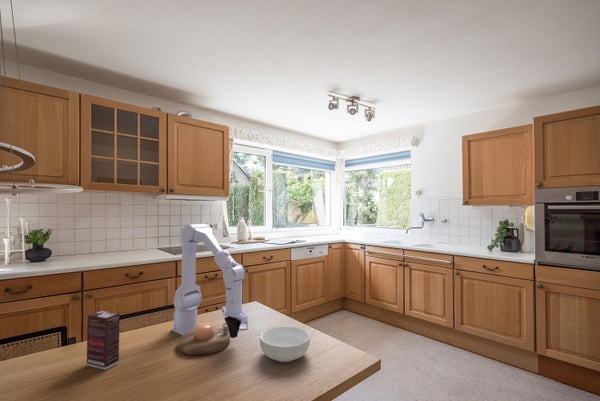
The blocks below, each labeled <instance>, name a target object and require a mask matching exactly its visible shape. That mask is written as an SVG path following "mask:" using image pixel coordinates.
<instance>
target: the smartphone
mask: <svg viewBox="0 0 600 401" xmlns="http://www.w3.org/2000/svg"><path fill="white" fill-rule="evenodd" d="M248 323H249V320H248V317H247V322H244V323H241V325H240V328H239V331H246V330H247V331H248V330H249V324H248Z"/></svg>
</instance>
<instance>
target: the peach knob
mask: <svg viewBox="0 0 600 401" xmlns="http://www.w3.org/2000/svg"><path fill="white" fill-rule="evenodd" d="M214 327H215V324H214V323H212V322H210V321H208V322H200V323H197V325H195V326H194V340H196V341H207V340H210V339H212V338H213V337H214Z"/></svg>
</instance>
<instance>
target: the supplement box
mask: <svg viewBox="0 0 600 401" xmlns="http://www.w3.org/2000/svg"><path fill="white" fill-rule="evenodd" d="M120 318H121V317H120V313H116V312H111V311H104V310H100V311H96V312H93V313H90V314H88V315H87V330H86V332H87V333H86V334H87V337H86V338H87V339H86V341H87V342H86V366H87V367H92V368H96V369H100V370H104V371H106V370H108V369H110V368H112V367H114V366H116V365H118V364H119V361H120V360H119V358H120V355H119V354H120V322H121V321H120Z"/></svg>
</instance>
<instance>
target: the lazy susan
mask: <svg viewBox="0 0 600 401" xmlns="http://www.w3.org/2000/svg"><path fill="white" fill-rule="evenodd" d="M223 325H224V324H223ZM230 342H231V337H230V334H229V329H228V326H227V325H224V326H222V328H221V327H215V326H214V337H213V338H212V339H210V340H207V341H196V340H194V330H193V331H190V332H188V333H186V334H184V335H181V336H180V337H179V338H178V343H177V344H178V345H177V346H178V347H177V348H178V350H179V352H181V353H183V354H186V355H190V356H203V355H209V354H213V353H216V352H220V351H221V350H223V349H225V348H226V347H228V345H230Z"/></svg>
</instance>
